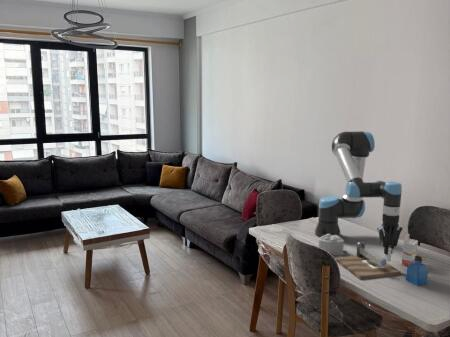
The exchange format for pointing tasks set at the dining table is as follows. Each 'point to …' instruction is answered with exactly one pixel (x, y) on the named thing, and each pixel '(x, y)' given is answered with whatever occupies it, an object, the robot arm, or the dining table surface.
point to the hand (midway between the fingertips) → (387, 260)
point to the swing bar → (369, 254)
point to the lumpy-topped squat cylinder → (331, 244)
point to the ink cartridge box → (409, 250)
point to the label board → (366, 267)
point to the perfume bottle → (417, 272)
